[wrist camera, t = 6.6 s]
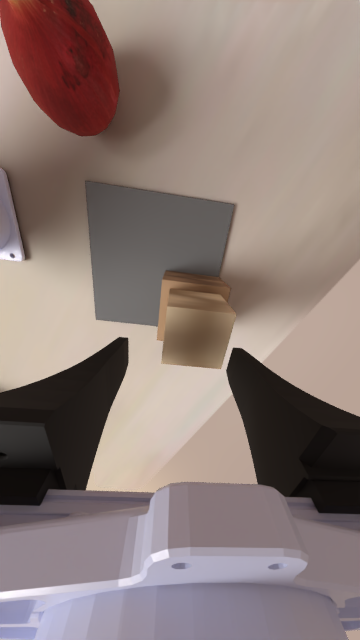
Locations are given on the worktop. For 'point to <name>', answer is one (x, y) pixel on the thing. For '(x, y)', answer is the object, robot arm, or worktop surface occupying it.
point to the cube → (196, 329)
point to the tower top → (187, 285)
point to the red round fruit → (63, 61)
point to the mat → (148, 246)
